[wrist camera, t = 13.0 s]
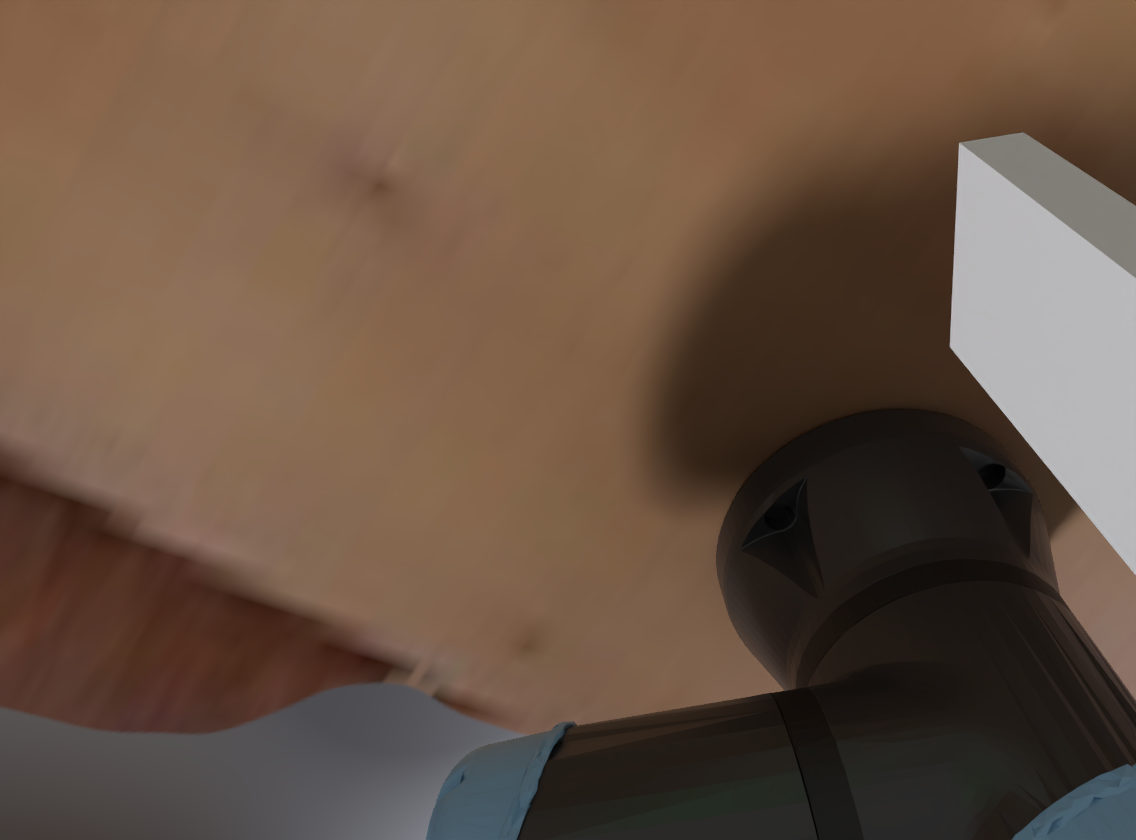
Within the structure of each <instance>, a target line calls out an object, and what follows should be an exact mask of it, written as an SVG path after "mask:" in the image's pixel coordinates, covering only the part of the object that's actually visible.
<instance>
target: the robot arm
mask: <svg viewBox="0 0 1136 840" xmlns="http://www.w3.org/2000/svg"><path fill="white" fill-rule="evenodd" d="M950 348H951V349H952V350H953V351H954V353H955V354H956V355H957V356H958V358H959V359H960V360H961V361H962V363H963V364H964V365H965V366H966V367H967V369H968V370H969V371H970V372H971V374H972V375H973V376H974V377H975V378H976V380H977V381H978V382H979V383H980V385H981V386H982V387H983V388H984V390H985V391H986V392H987V393H988V394H989V396H990V397H991V398H992V399H993V401H994V402H995V403H996V404H997V405H998V407H999V408H1000V409H1001V410H1002V412H1003V413H1004V414H1005V415H1006V417H1007V418H1008V419H1009V420H1010V421H1011V423H1012V424H1013V425H1014V426H1015V428H1016V429H1017V430H1018V431H1019V432H1020V434H1021V435H1022V436H1023V437H1024V439H1025V440H1026V441H1027V442H1028V444H1029V445H1030V446H1031V447H1032V448H1033V450H1034V451H1035V452H1036V453H1037V455H1038V456H1039V457H1040V458H1041V459H1042V461H1043V462H1044V463H1045V464H1046V466H1047V467H1048V468H1049V469H1050V471H1051V472H1052V473H1053V474H1054V475H1055V477H1056V478H1057V479H1058V480H1059V482H1060V483H1061V484H1062V485H1063V487H1064V488H1065V489H1066V490H1067V491H1068V493H1069V494H1070V495H1071V496H1072V498H1073V499H1074V500H1075V501H1076V502H1077V504H1078V505H1079V506H1080V507H1081V509H1082V510H1083V511H1084V512H1085V514H1086V515H1087V516H1088V517H1089V518H1090V520H1091V521H1092V522H1093V523H1094V525H1095V526H1096V527H1097V528H1098V529H1099V531H1100V532H1101V533H1102V534H1103V536H1104V537H1105V538H1106V539H1107V541H1108V542H1109V543H1110V544H1111V545H1112V547H1113V548H1114V549H1115V550H1116V552H1117V553H1118V554H1119V555H1120V556H1121V558H1122V559H1123V560H1124V561H1125V563H1126V564H1127V565H1128V566H1129V568H1130V569H1131V570H1132V571H1133V572H1134V574H1135V575H1136V206H1135V205H1134V204H1132V203H1131V202H1129V201H1128V200H1126V199H1125V198H1123V197H1122V196H1120V195H1119V194H1117V193H1115V192H1114V191H1112V190H1111V189H1109V188H1108V187H1106V186H1105V185H1103V184H1102V183H1100V182H1099V181H1097V180H1096V179H1094V178H1093V177H1091V176H1089V175H1088V174H1086V173H1085V172H1083V171H1082V170H1080V169H1079V168H1077V167H1076V166H1074V165H1073V164H1071V163H1070V162H1068V161H1067V160H1065V159H1064V158H1062V157H1060V156H1059V155H1057V154H1056V153H1054V152H1053V151H1051V150H1050V149H1048V148H1047V147H1045V146H1044V145H1042V144H1041V143H1039V142H1038V141H1036V140H1035V139H1033V138H1031V137H1030V136H1028V135H1027V134H1025V133H1024V132H1022V133H1016V134H1010V135H1004V136H997V137H991V138H985V139H979V140H973V141H967V142H961V143H959V158H958V179H957V201H956V223H955V244H954V266H953V288H952V309H951V331H950ZM716 566H717V575H718V579H719V584H720V587H721V591H722V594H723V598H724V601H725V604H726V608H727V611H728V614H729V617H730V619H731V622H732V624H733V626H734V628H735V630H736V631H737V633H738V635H739V637H740V638H741V640H742V641H743V643H744V644H745V646H746V647H747V648H748V649H749V650H750V652H751V653H752V654H753V655H754V656H755V657H756V658H757V660H758V661H759V662H760V663H761V664H762V665H763V666H764V668H765V669H766V670H767V671H768V672H769V673H770V674H771V675H772V677H773V678H774V679H775V680H776V681H777V682H778V683H779V685H780V686H781V687H782V688H783V689H784V690H785V691H781V692H775V693H767V694H761V695H756V696H751V697H746V698H740V699H734V700H728V701H722V702H716V703H710V704H704V705H698V706H692V707H686V708H680V709H674V710H668V711H662V712H656V713H650V714H644V715H638V716H632V717H626V718H620V719H614V720H608V721H603V722H597V723H591V724H585V725H579V726H577V725H576V723H575V722H574V721H572V722H562V723H559V724H558V725H556V726H555V727H554V728H553V729H552V730H551V731H548V732H543V733H539V734H534V735H530V736H525V737H521V738H517V739H512V740H507V741H503V742H498V743H493V744H489V745H486V746H483V747H480V748H478V749H476V750H474V751H472V752H470V753H469V754H468V755H466V756H465V757H464V758H463V759H462V760H461V761H460V762H459V763H458V764H457V765H456V766H455V767H454V768H453V769H452V771H451V772H450V774H449V776H448V777H447V778H446V780H445V782H444V784H443V786H442V788H441V791H440V793H439V796H438V798H437V801H436V805H435V808H434V809H433V812H432V816H431V819H430V823H429V827H428V831H427V836H426V840H1136V700H1135V699H1134V697H1133V696H1132V695H1131V693H1130V692H1129V690H1128V689H1127V688H1126V686H1125V685H1124V683H1123V682H1122V681H1121V679H1120V678H1119V677H1118V675H1117V674H1116V672H1115V671H1114V670H1113V668H1112V667H1111V665H1110V664H1109V663H1108V661H1107V660H1106V659H1105V657H1104V656H1103V654H1102V653H1101V652H1100V650H1099V649H1098V647H1097V646H1096V645H1095V643H1094V642H1093V641H1092V639H1091V638H1090V636H1089V635H1088V634H1087V632H1086V631H1085V629H1084V628H1083V627H1082V625H1081V624H1080V622H1079V621H1078V620H1077V619H1076V617H1075V616H1074V615H1073V613H1072V612H1071V610H1070V609H1069V608H1068V606H1067V605H1066V603H1065V602H1064V600H1063V599H1062V597H1061V596H1060V593H1059V588H1058V583H1057V578H1056V572H1055V567H1054V562H1053V557H1052V552H1051V547H1050V542H1049V537H1048V531H1047V526H1046V521H1045V516H1044V513H1043V509H1042V506H1041V504H1040V502H1039V499H1038V497H1037V495H1036V493H1035V491H1034V489H1033V487H1032V485H1031V484H1030V482H1029V481H1028V479H1027V478H1026V477H1025V475H1024V474H1023V473H1022V471H1021V470H1020V469H1019V467H1018V466H1017V465H1016V463H1015V462H1014V461H1013V460H1012V458H1011V457H1010V456H1009V454H1008V453H1007V452H1006V451H1005V450H1004V449H1003V448H1002V446H1001V445H999V444H998V443H997V442H996V441H995V440H994V439H993V438H991V437H990V436H989V435H988V434H986V433H985V432H983V431H982V430H980V429H978V428H977V427H975V426H973V425H971V424H969V423H967V422H964V421H962V420H960V419H957V418H954V417H951V416H948V415H944V414H940V413H935V412H929V411H922V410H907V409H896V410H882V411H874V412H868V413H862V414H858V415H853V416H850V417H846V418H843V419H839V420H837V421H834V422H831V423H828V424H826V425H823V426H821V427H819V428H816V429H814V430H812V431H810V432H808V433H806V434H804V435H803V436H801V437H799V438H797V439H796V440H794V441H792V442H791V443H789V444H788V445H786V446H785V447H783V448H782V449H781V450H779V451H778V452H777V453H775V454H774V455H773V456H772V457H770V458H769V459H768V460H767V461H766V462H765V463H764V464H763V465H762V466H761V467H760V468H759V469H758V470H757V471H755V473H754V474H753V475H752V476H751V477H750V478H749V479H748V481H747V482H746V483H745V484H744V486H743V487H742V488H741V490H740V491H739V493H738V494H737V496H736V497H735V499H734V501H733V502H732V504H731V506H730V508H729V510H728V512H727V514H726V516H725V519H724V522H723V524H722V527H721V531H720V535H719V539H718V545H717V555H716Z"/></svg>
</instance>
